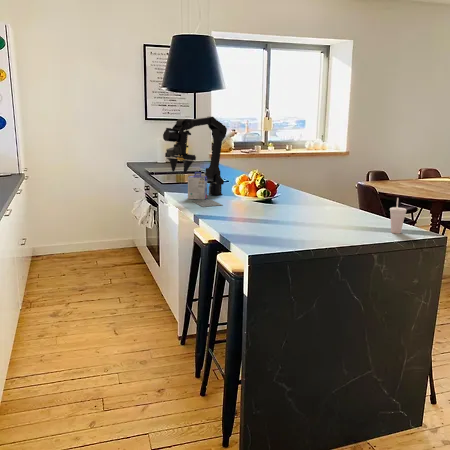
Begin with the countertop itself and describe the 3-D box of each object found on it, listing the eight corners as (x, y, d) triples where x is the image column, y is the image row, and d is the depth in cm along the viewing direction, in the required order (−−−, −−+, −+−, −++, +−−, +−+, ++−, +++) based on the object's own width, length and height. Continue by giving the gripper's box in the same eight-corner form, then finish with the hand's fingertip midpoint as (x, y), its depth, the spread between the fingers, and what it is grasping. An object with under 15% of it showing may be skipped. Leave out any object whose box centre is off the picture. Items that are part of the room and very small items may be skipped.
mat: (211, 200, 254) (211, 199, 254) (222, 205, 240) (222, 205, 240) (192, 201, 250) (192, 200, 250) (202, 206, 236) (202, 206, 236)
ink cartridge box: (207, 198, 260) (207, 172, 257) (205, 200, 255) (205, 173, 252) (190, 197, 262) (190, 171, 259) (187, 199, 257) (187, 172, 254)
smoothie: (384, 230, 192) (388, 196, 189) (400, 230, 193) (403, 196, 189) (391, 234, 186) (394, 199, 183) (407, 234, 186) (410, 199, 183)
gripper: (158, 140, 250) (156, 169, 252) (181, 142, 238) (179, 173, 240) (174, 142, 258) (171, 170, 260) (197, 144, 246) (195, 174, 248)
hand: (178, 172), depth 252 cm, fingers open, 9 cm apart
